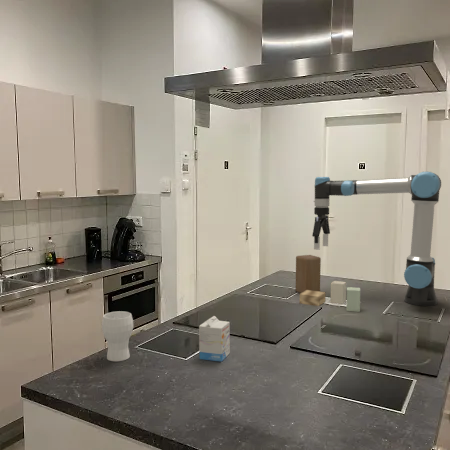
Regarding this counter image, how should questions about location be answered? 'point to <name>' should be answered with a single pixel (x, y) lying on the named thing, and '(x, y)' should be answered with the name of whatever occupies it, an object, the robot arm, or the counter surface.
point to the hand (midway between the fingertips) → (321, 247)
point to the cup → (117, 334)
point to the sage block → (353, 299)
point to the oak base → (312, 297)
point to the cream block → (338, 292)
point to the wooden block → (307, 273)
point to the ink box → (214, 340)
